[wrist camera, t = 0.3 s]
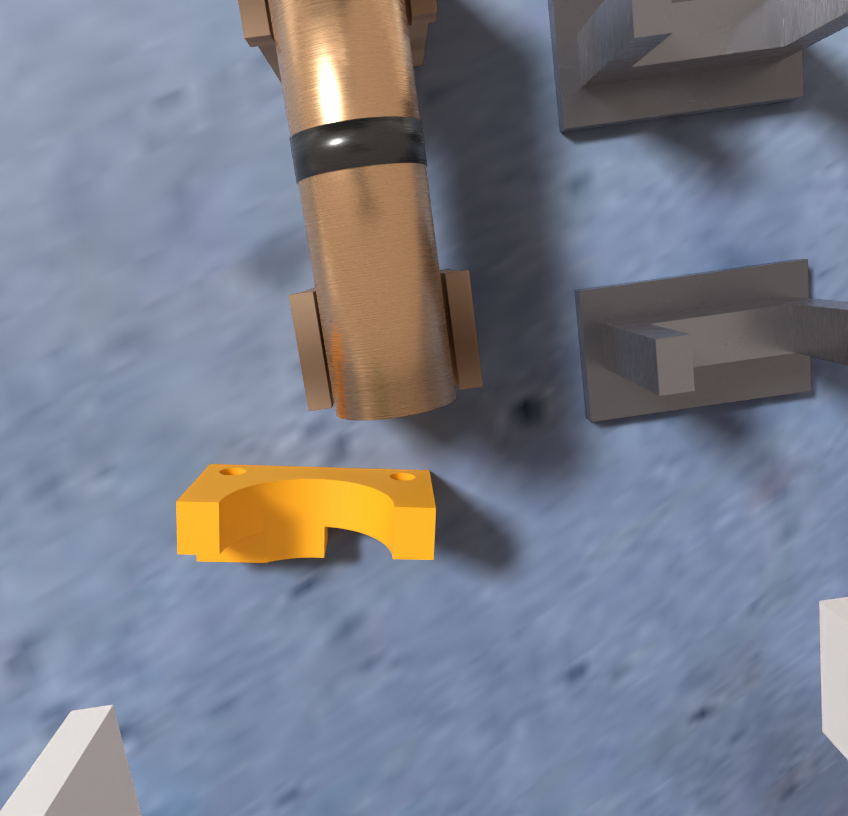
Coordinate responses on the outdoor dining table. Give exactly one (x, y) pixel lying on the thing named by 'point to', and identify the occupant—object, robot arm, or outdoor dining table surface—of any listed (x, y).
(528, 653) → the outdoor dining table surface
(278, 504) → the pipe clamp
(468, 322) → the walnut rest
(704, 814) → the outdoor dining table surface
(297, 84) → the tube
